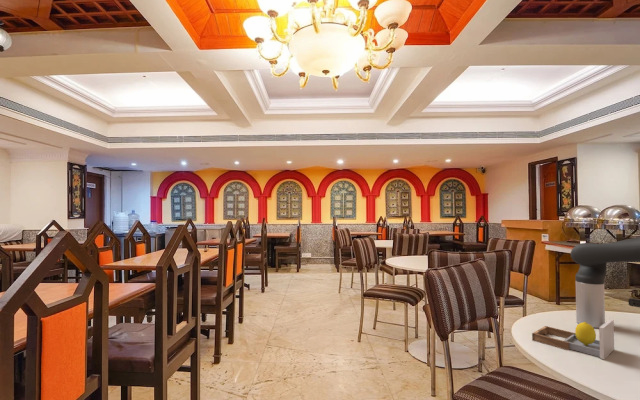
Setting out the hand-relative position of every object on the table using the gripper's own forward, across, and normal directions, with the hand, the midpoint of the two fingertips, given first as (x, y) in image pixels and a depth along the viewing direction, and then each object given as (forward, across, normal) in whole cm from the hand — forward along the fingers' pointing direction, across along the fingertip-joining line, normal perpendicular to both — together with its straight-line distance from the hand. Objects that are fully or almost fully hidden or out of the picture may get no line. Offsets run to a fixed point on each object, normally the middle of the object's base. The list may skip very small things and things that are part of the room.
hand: (629, 301), depth 107 cm
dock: (+20, +1, -18) cm, 27 cm away
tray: (+12, 0, -18) cm, 22 cm away
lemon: (+12, 0, -18) cm, 21 cm away
